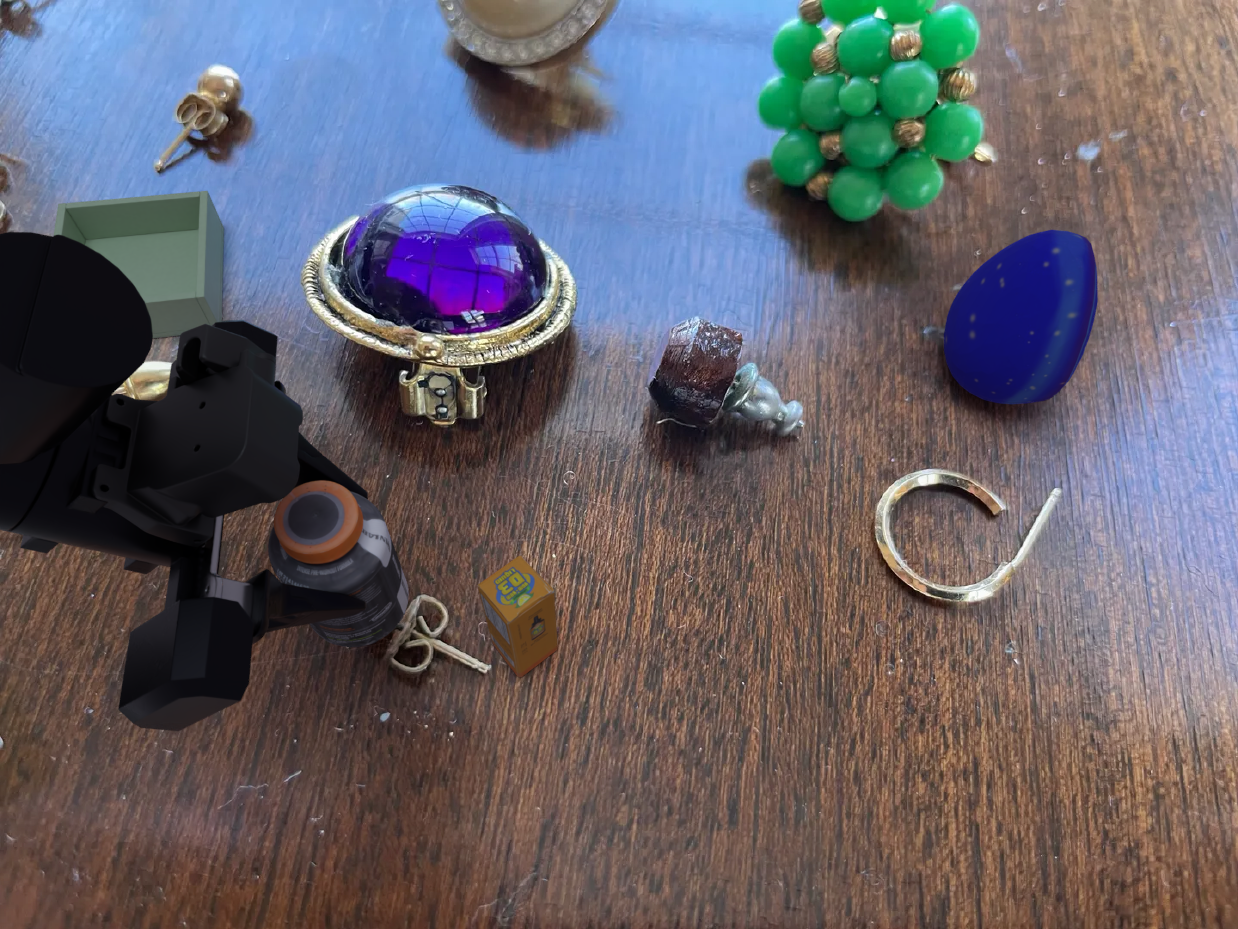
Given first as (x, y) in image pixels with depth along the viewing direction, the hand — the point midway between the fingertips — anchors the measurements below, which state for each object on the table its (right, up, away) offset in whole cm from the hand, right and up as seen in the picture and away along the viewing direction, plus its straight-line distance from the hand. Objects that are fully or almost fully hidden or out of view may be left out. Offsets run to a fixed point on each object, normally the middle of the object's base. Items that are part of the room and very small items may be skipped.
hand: (362, 552), depth 46 cm
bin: (-24, +19, +24) cm, 39 cm away
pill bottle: (-2, -3, +6) cm, 7 cm away
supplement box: (+7, -7, +12) cm, 16 cm away
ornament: (+43, +12, +26) cm, 51 cm away
